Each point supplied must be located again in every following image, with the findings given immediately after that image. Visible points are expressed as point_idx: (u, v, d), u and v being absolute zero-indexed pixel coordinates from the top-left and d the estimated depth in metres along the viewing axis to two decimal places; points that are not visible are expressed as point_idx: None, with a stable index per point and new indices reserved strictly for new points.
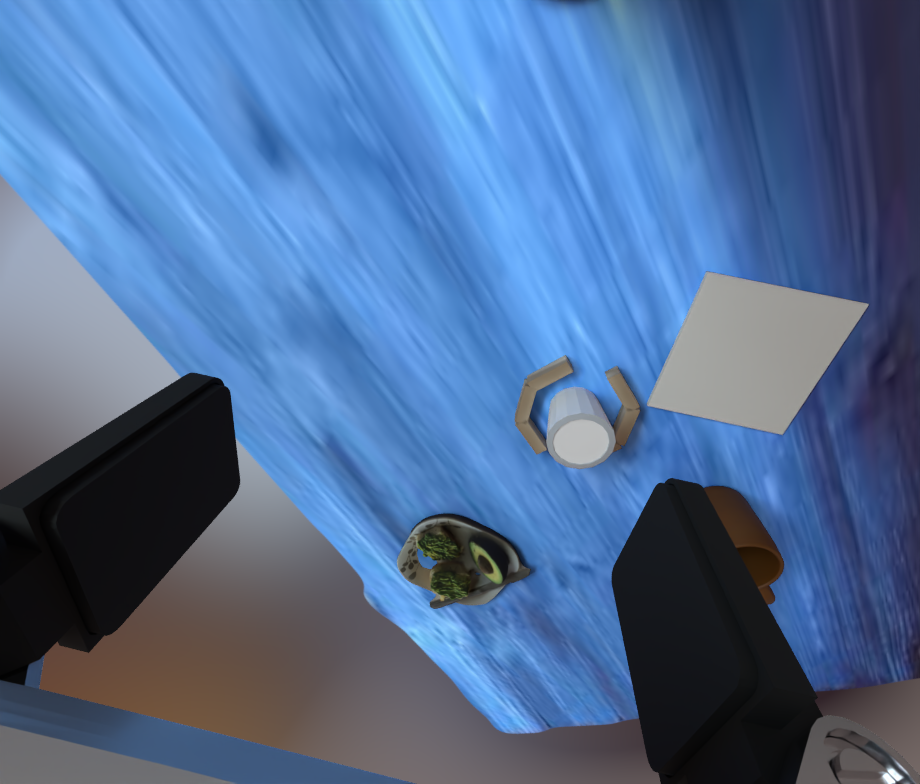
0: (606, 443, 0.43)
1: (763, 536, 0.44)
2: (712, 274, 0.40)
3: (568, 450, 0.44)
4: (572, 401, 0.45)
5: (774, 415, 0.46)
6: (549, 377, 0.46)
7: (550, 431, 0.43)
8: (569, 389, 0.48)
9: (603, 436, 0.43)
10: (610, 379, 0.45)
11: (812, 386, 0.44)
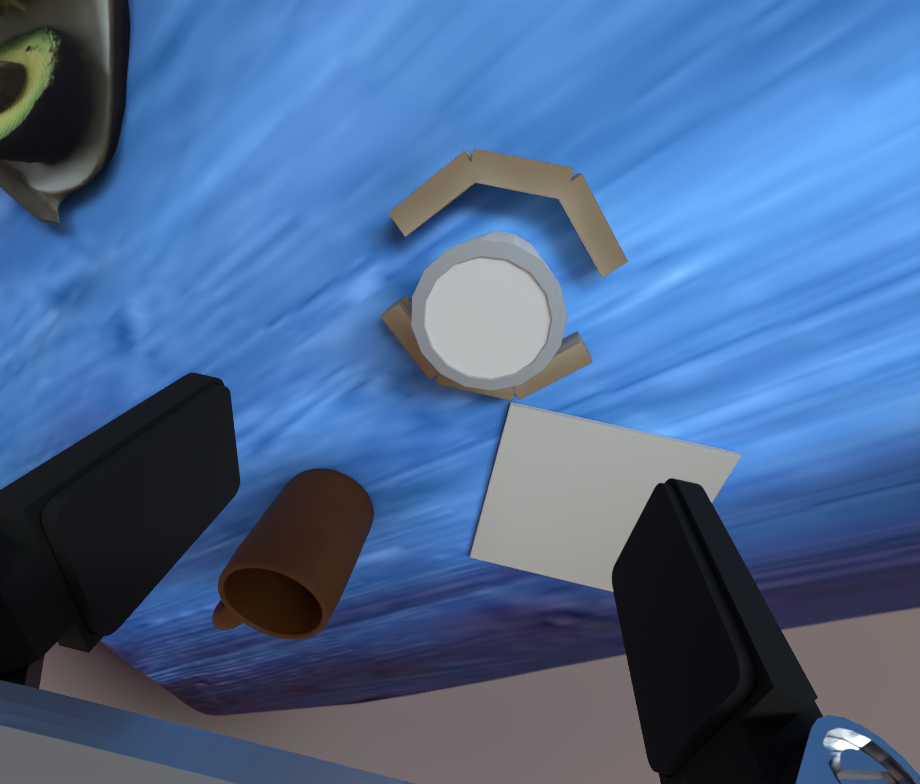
0: (486, 373, 0.20)
1: (336, 604, 0.28)
2: (735, 461, 0.27)
3: (460, 296, 0.18)
4: None
5: (499, 547, 0.34)
6: (592, 226, 0.21)
7: (514, 248, 0.17)
8: None
9: (504, 366, 0.20)
10: (580, 347, 0.24)
11: (543, 573, 0.35)
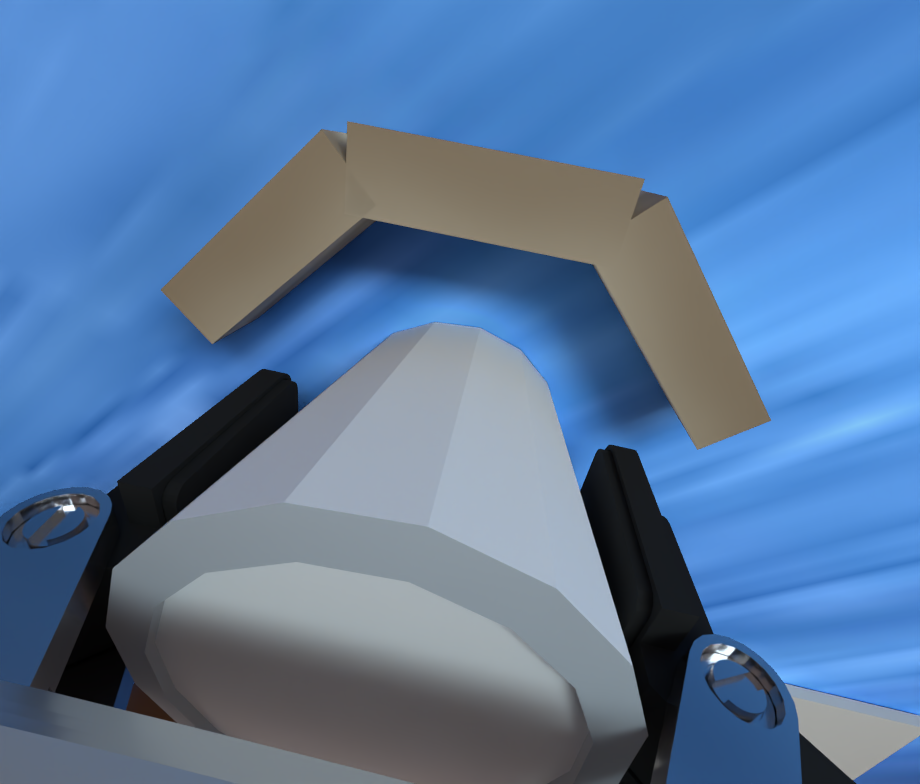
0: None
1: None
2: (915, 735, 0.14)
3: (260, 644, 0.05)
4: None
5: None
6: (684, 337, 0.08)
7: (435, 544, 0.04)
8: None
9: None
10: None
11: None
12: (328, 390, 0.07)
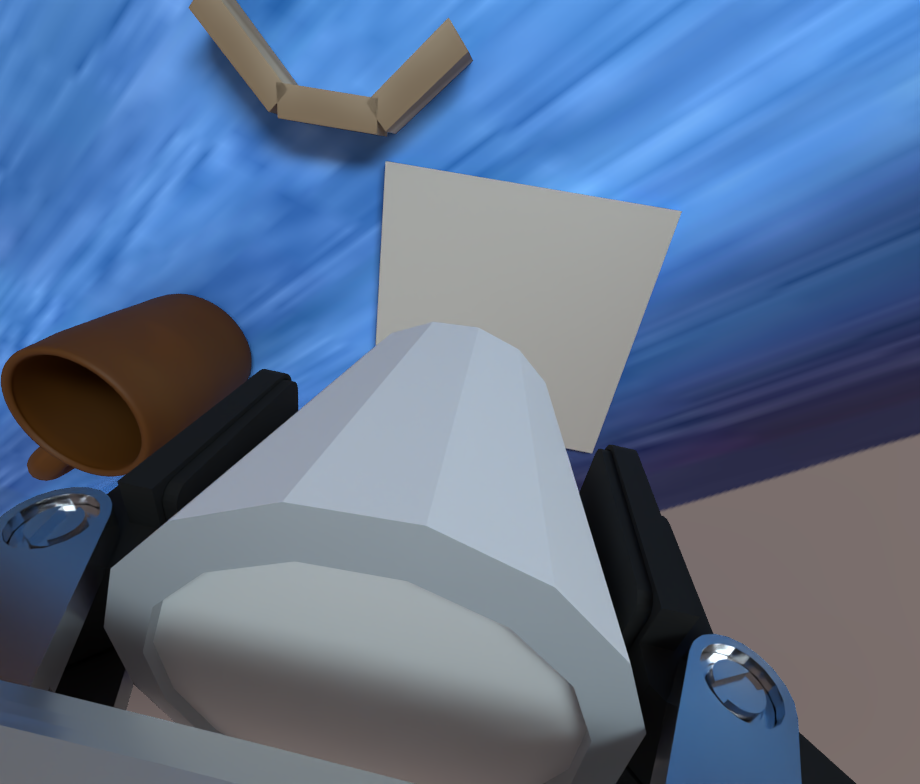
0: None
1: (171, 428, 0.22)
2: (675, 221, 0.21)
3: (259, 644, 0.05)
4: None
5: None
6: None
7: (433, 543, 0.04)
8: None
9: None
10: (449, 27, 0.18)
11: None
12: (326, 390, 0.07)
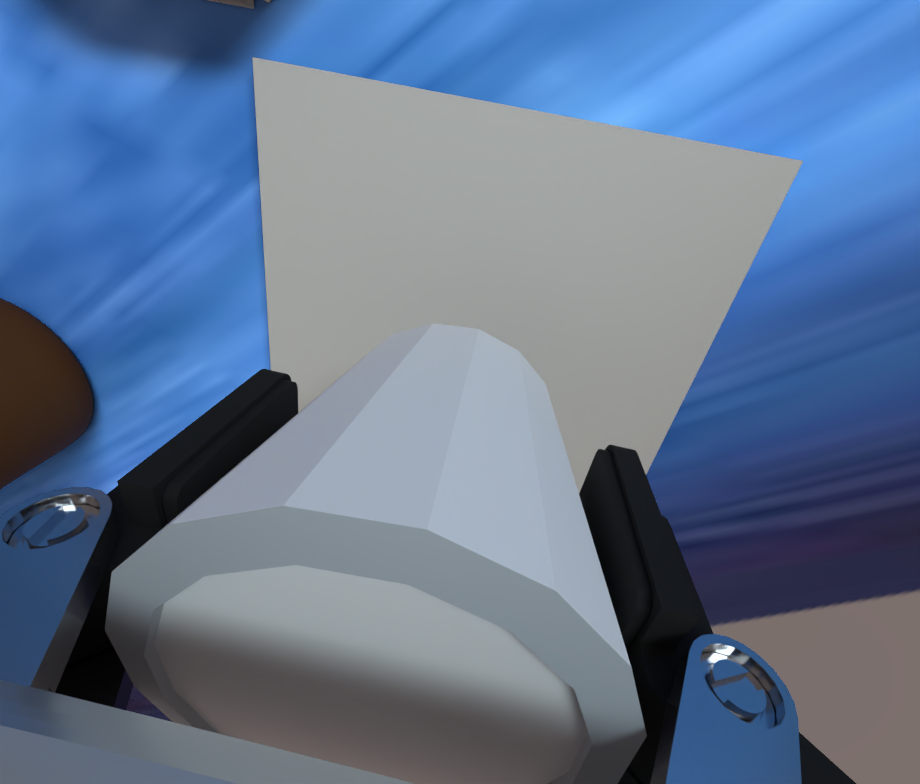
0: None
1: None
2: (788, 180, 0.11)
3: (260, 647, 0.05)
4: None
5: None
6: None
7: (434, 547, 0.04)
8: None
9: None
10: None
11: None
12: (327, 392, 0.07)
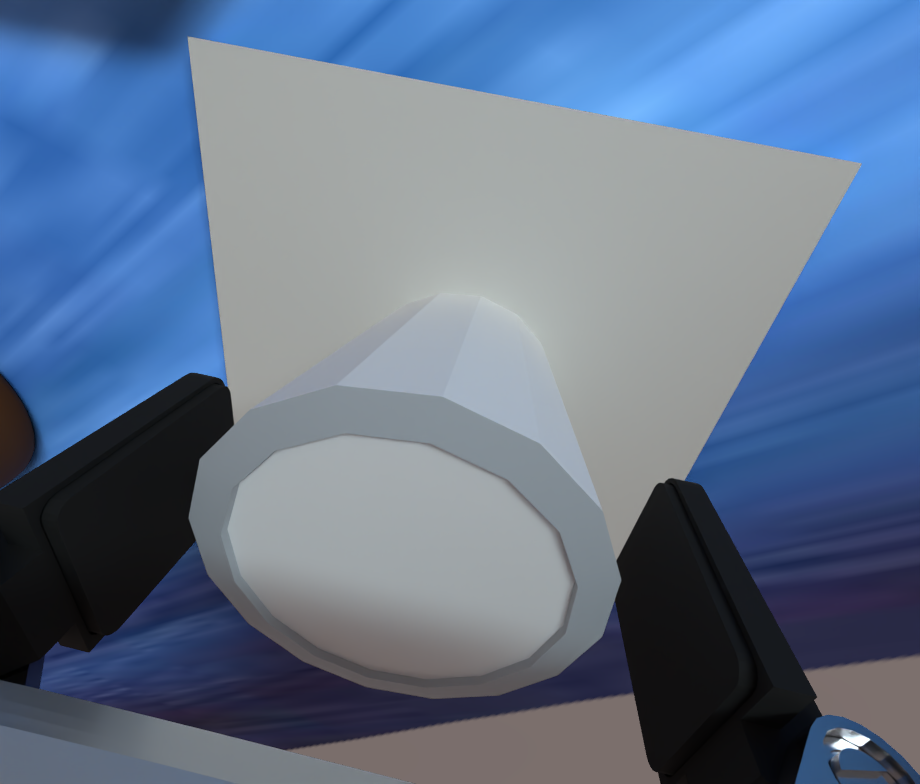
0: (413, 672, 0.08)
1: None
2: (842, 186, 0.09)
3: (313, 522, 0.06)
4: None
5: None
6: None
7: (448, 411, 0.05)
8: None
9: (455, 662, 0.08)
10: None
11: None
12: (354, 339, 0.09)
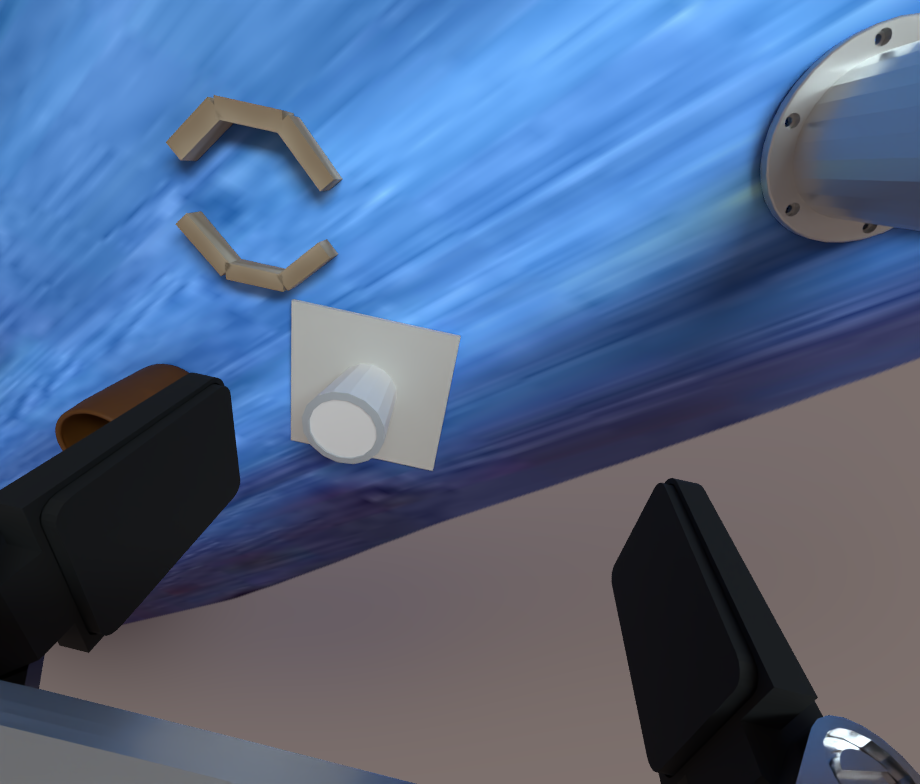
0: (348, 455, 0.35)
1: None
2: (457, 342, 0.37)
3: (327, 417, 0.34)
4: (387, 402, 0.36)
5: None
6: (304, 153, 0.30)
7: (350, 395, 0.33)
8: (393, 385, 0.39)
9: (357, 451, 0.35)
10: (319, 246, 0.33)
11: None
12: (334, 380, 0.36)
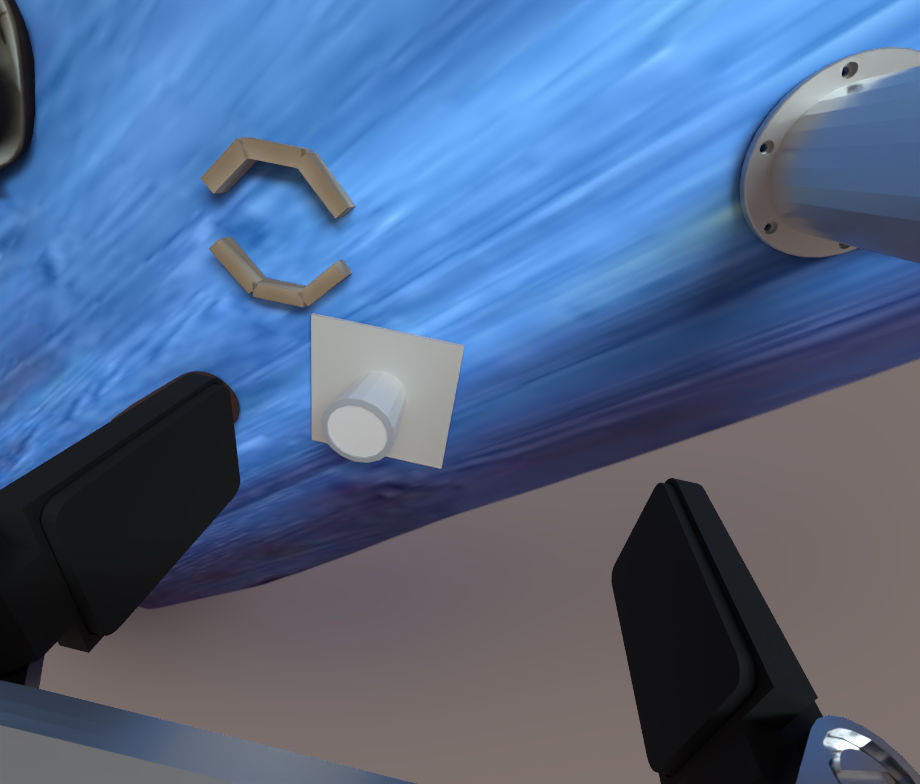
0: (362, 455, 0.39)
1: None
2: (462, 351, 0.40)
3: (343, 421, 0.38)
4: (397, 407, 0.40)
5: None
6: (321, 185, 0.34)
7: (363, 401, 0.36)
8: (403, 390, 0.43)
9: (370, 451, 0.39)
10: (335, 267, 0.37)
11: None
12: (350, 387, 0.40)
